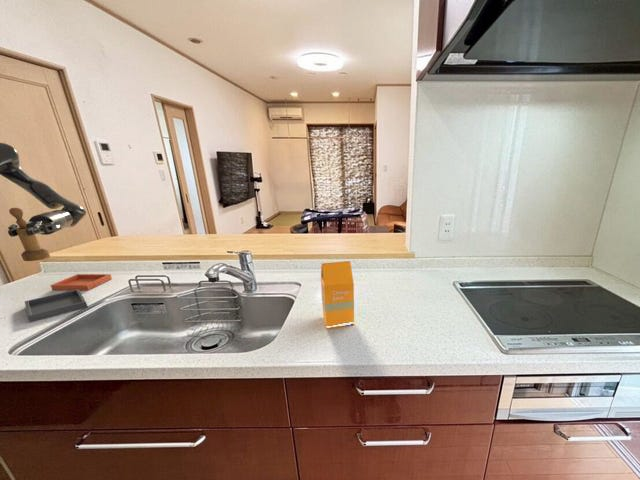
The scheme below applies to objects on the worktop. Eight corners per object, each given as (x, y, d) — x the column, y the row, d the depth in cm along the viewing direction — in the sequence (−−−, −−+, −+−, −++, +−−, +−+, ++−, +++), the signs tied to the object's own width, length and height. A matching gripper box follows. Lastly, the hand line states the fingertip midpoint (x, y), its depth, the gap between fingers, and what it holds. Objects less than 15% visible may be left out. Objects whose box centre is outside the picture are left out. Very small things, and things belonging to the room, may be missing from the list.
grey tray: (27, 306, 101) (24, 301, 100) (80, 294, 111) (78, 288, 110) (30, 322, 92) (27, 316, 91) (87, 307, 101) (85, 301, 100)
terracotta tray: (52, 290, 113) (50, 285, 113) (79, 278, 124) (77, 274, 123) (88, 290, 114) (86, 285, 113) (112, 278, 124) (110, 274, 124)
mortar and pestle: (50, 254, 110) (29, 205, 103) (50, 258, 106) (28, 208, 99) (24, 258, 106) (0, 207, 99) (23, 262, 102) (-2, 210, 95)
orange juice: (354, 325, 92) (353, 265, 85) (326, 329, 90) (323, 268, 82) (348, 313, 99) (347, 257, 92) (322, 316, 97) (319, 259, 89)
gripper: (20, 214, 111) (-15, 223, 96) (68, 212, 115) (42, 220, 101) (29, 233, 113) (-4, 245, 99) (75, 230, 118) (51, 242, 103)
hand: (19, 233), depth 100 cm, fingers closed on mortar and pestle, 4 cm apart
